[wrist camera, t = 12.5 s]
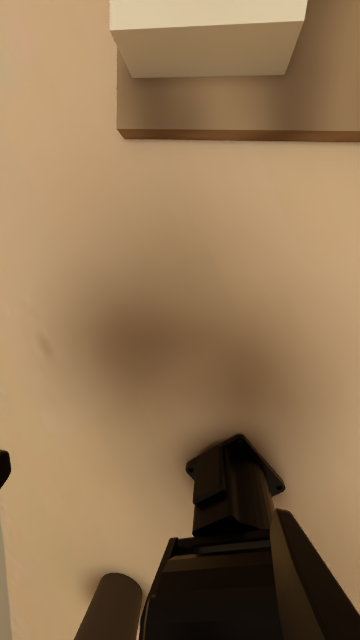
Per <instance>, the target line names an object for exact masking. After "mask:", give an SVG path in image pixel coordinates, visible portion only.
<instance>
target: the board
mask: <svg viewBox="0 0 360 640" xmlns="http://www.w3.org/2000/svg"><path fill="white" fill-rule="evenodd" d="M117 130H118V131H119V132H120V134H121V135H122V136H123V138H129V139H198V140H268V141H337V142H360V0H308V1H307V7H306V13H305V19H304V23H303V25H302V28H301V31H300V34H299V36H298V39H297V42H296V45H295V48H294V50H293V53H292V56H291V59H290V61H289V64H288V67H287V70H286V72H285V75H256V76H208V77H160V78H132V77H131V75H130V73H129V71H128V68H127V66H126V64H125V62H124V60H123V58H122V56H121V53H120V51H119V49H118V47H117Z"/></svg>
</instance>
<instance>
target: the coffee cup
mask: <svg viewBox="0 0 360 640" xmlns="http://www.w3.org/2000/svg"><path fill="white" fill-rule="evenodd" d="M141 601H142V590H141V588H140V586H139V585H138V584H137V583H136V582H135V581H134V580H133V579H131V578H130V577H128V576H125V575H123V574H119V573H109V574H106V575H105V576H103V577H102V579H101V581H100V583H99V585H98V588H97V590H96V592H95V594H94V596H93V599H92V601H91V603H90V605H89V607H88V610H87V612H86V614H85V616H84V618H83V621H82V623H81V625H80V627H79V629H78V632H77V634H76V636H75V638H74V640H136V636H137V629H138V622H139V615H140V608H141Z"/></svg>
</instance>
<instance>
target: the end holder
mask: <svg viewBox="0 0 360 640" xmlns="http://www.w3.org/2000/svg"><path fill="white" fill-rule="evenodd" d="M307 1H308V0H110V32H111V34H112V36H113V38H114V41H115V43H116V45H117V47H118V49H119V51H120V53H121V56H122V58H123V60H124V62H125V64H126V66H127V68H128V71H129V73H130V75H131V77H132V78H160V77H208V76H256V75H285V72H286V70H287V67H288V64H289V61H290V59H291V56H292V53H293V50H294V48H295V45H296V42H297V39H298V36H299V34H300V31H301V28H302V25H303V23H304V19H305V13H306V7H307Z"/></svg>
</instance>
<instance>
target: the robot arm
mask: <svg viewBox="0 0 360 640" xmlns="http://www.w3.org/2000/svg"><path fill="white" fill-rule="evenodd" d="M239 440H241V441H242V442H239ZM191 468H192V469H191ZM186 472H187V473H188V474H189V475H190V476H191V477H192V479H193V480H194V481H195V483H194V492H193V504H194V505H195V509H194V520H193V531H192V534H193V536H194V537H190V538H182V539H178V537H176V538H170V539H169V542H168V545H167V547H166V550H165V552H164V555H163V558H162V560H161V563H160V566H159V568H158V571H157V573H156V576H155V579H154V581H153V584H152V586H151V589H150V592H149V594H148V597H147V600H146V603H145V606H144V609H143V613H142V616H141V620H140V633H139V640H360V615H359V613H358V612H357V610H356V609H355V607H354V606H353V604H352V603H351V601H350V600H349V598H348V597H347V595H346V594H345V592H344V591H343V589H342V588H341V586H340V585H339V583H338V582H337V580H336V579H335V577H334V576H333V574H332V573H331V572H330V570H329V569H328V567H327V566H326V564H325V563H324V561H323V560H322V558H321V557H320V555H319V554H318V552H317V551H316V549H315V548H314V546H313V545H312V543H311V542H310V540H309V539H308V537H307V536H306V534H305V533H304V531H303V530H302V528H301V527H300V525H299V524H298V522H297V521H296V519H295V518H294V516H293V515H292V514H291V513H290V512H289V511H287V510H283V509H278V508H276V509H275V510H274V505H273V501H272V496H274V495H277V494H279V493H281V492H283V491H284V490H285V485H284V482H283V481H282V480H281V478H280V477H279V476H278V475H277V474H276V473H275V471H274V470H273V469H272V468H271V467H270V466H269V464H268V463H267V462H266V461H265V460H264V459H263V457H262V456H261V455H260V454H259V453H258V452H257V450H256V449H255V448H254V447H253V446H252V445H251V443H250V442H249V441H248V440H247V439H246V438H245V437H244V436H243V435H236V436H234V437H233V438H231V439H229V440H227V441H225V442H224V443H222V444H220V445H218V446H216V447H214V448H212V449H210V450H209V451H207V452H205V453H203V454H202V455H200V456H198V457H197V458H195V459H194V460H192V461H190V462H188V463H187V464H186ZM10 473H11V463H10V456H9V453H8V452H7V451H4V450H0V489H1V487H2V486H3V484H4V483H5V482H6V480H7V479H8V477H9V475H10Z"/></svg>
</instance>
